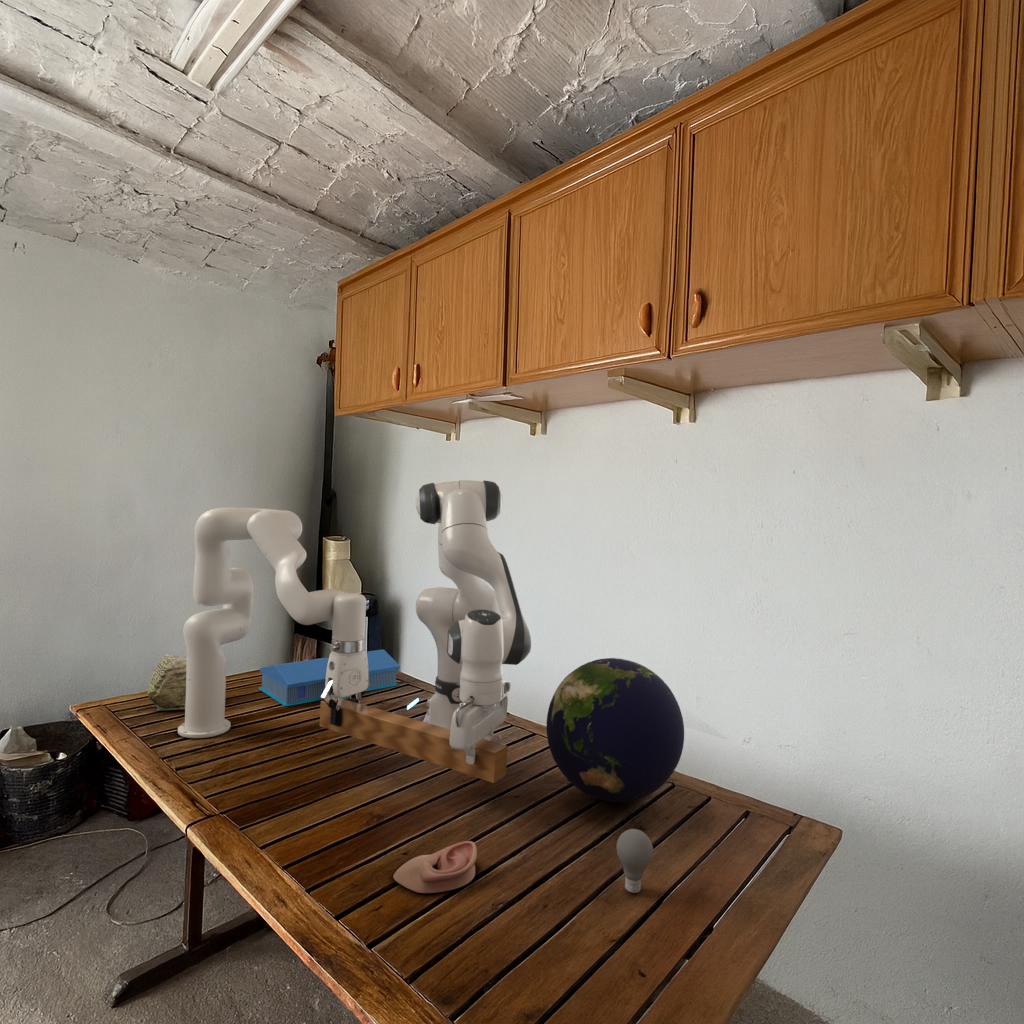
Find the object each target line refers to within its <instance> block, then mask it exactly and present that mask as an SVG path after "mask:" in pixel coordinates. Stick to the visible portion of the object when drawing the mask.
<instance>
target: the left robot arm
mask: <svg viewBox="0 0 1024 1024" xmlns="http://www.w3.org/2000/svg"><path fill="white" fill-rule="evenodd" d="M193 531H194V532H193V537H194V545H195V547H194V548H195V559H194V560H195V561H194V571H193V584H192V585H193V586H192V596H193V600H194V602H195V603H196V604H197V605H199V606H202V607H216V606H222V608H214V609H209V610H204V611H199V612H197V613H195V614H192V615H191V616H190V617H188V619H186V621H185V623H184V625H183V630H182V631H183V632H182V634H183V640H184V646H185V657H187V666H186V701H185V709H184V722H182V724H180V725H179V726H178V727H177V734H178V735H179V736H180V737H182V738H188V739H207V738H212V737H216V736H220V735H222V734H224V733H227V732H228V731H230V729H231V727H232V725H231V723H232V722H231V721H230V720H228V719H226V718H225V715H226V692H227V691H226V689H227V659H226V656H225V654H224V652H223V651H222V649H221V646H222V645H224V644H229V643H232V642H233V643H234V642H237V641H240V640H242V639H243V638H245V637H246V636H247V635H248V633H249V631H250V628H251V624H252V614H253V602H254V581H253V579H252V576H251V575H250V573H249V572H248V571H247V570H245V569H243V568H241V567H231V563H232V553H231V550H230V546H229V545H228V543H227V542H228V541H242V540H245V541H246V540H253V542H254V543H255V545H256V546H257V547H258V548H259V550H260V551H261V553H262V554H263V556H264V557H265V559H267V561H268V563H269V564H270V565H271V567H272V568H273V569H274V571H275V575H274V576H275V577H274V584H275V592H276V596H277V598H278V600H279V602H280V603H281V604H282V606H283V608H284V609H285V610H286V612H287V613H288V614H289V615H290V617H291V618H292V619H293V620H295V622H296V623H298V624H300V625H304V626H311V625H315V624H319V623H322V622H328V621H332V629H331V630H332V633H331V644H330V645H329V650H330V651H331V652H330V653H329V660H328V665H327V671H326V681H325V690H324V692H323V694H322V695H321V700H320V701H324V702H326V704H327V705H328V706H329V708H331V714H330V724H332V725H335V726H338V727H339V726H341V725H342V709H340V707H341V703H342V699H343V698H344V697H348V696H350V698H349V701H352V702H356V703H359V704H361V702H362V701H363V699H362V698H363V696H364V695H365V693H366V692H367V691H366V690H367V688H368V687H369V683H368V658H367V652H368V651H367V649H365V636H366V615H367V613H366V612H367V598H366V596H365V595H363V594H361V593H355V592H345V591H343V590H339V589H337V588H325V589H321V590H320V589H319V590H313V591H308V589H306V587H305V586H304V584H303V583H302V582H301V580H300V578H299V577H298V573H297V570H298V569H299V568H300V567H301V566H302V565H303V564H304V562H306V559H307V551H306V549H305V548H304V547H303V545H302V544H301V543H300V541H298V539H299V538H300V537H301V535H302V533H303V523H302V520H301V518H300V517H299V516H298V514H296V513H295V512H293V511H291V510H285V509H284V510H283V509H273V508H271V509H270V508H261V507H216V508H212V509H209V510H207V511H205V512H203V513H202V514H201V515H199V517H198V519H197V521H196V522H195V525H194V530H193ZM226 541H227V542H226ZM330 695H331V697H330ZM335 698H337V701H336V702H335Z"/></svg>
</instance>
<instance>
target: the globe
mask: <svg viewBox="0 0 1024 1024" xmlns="http://www.w3.org/2000/svg"><path fill="white" fill-rule="evenodd" d="M545 726H546V736H547V737H546V738H547V743H548V747H549V750H550V754H551V756H552V758H553V761H554V763H555V765H556V766H557V768H558V769H559V771H560V772H561V773H562V775H563V776H564V777H565V778H566V780H568V781H569V783H570V784H572V785H573V786H574V787H575V788H576V789H578V790H580V791H581V792H583V793H584V794H586V795H588V796H590V797H592V798H595V799H598V800H601V801H605V802H611V803H628V802H634V801H637V800H641V799H642V798H645V797H647V796H649V795H651V794H653V793H654V792H656V791H657V790H659V789H660V788H661V787H662V786H663V785H665V784H666V782H667V781H668V780H669V779H670V778H671V777H672V776H673V774H674V772H675V770H676V768H677V767H678V764H679V763H680V760H681V757H682V754H683V751H684V743H685V724H684V718H683V713H682V711H681V708H680V705H679V702H678V700H677V698H676V696H675V694H674V693H673V691H672V689H671V688H670V687H669V686H668V684H667V683H666V682H665V681H664V679H662V678H661V677H660V676H659V675H658V674H656V672H654V671H653V670H652V669H649V667H646V666H644V665H643V664H640V663H638V662H635V661H632V660H630V659H625V658H621V657H606V658H605V657H604V658H599V659H594V660H592V661H588V662H586V663H584V664H581V665H580V666H578V667H577V668H575V669H574V670H573V671H571V672H570V673H568V675H566V676H565V677H564V678H563V680H562V681H561V682H560V683H559V685H558V686H557V687H556V690H555V691H554V694H553V695H552V698H551V700H550V703H549V705H548V710H547V715H546V725H545Z"/></svg>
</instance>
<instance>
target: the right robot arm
mask: <svg viewBox="0 0 1024 1024" xmlns="http://www.w3.org/2000/svg"><path fill="white" fill-rule="evenodd" d="M503 499H504V498H503V495H502V492H501V490H500V486H499V485H498V484H497V483H496V482H494V481H490V480H484V479H483V480H482V481H480V480H470V479H469V480H466V479H464V480H462V479H461V480H460V479H459V480H457V481H456V480H455V481H444V482H438V483H434V482H430V483H426V484H423V485H421V486H420V488H419V489H418V492H417V495H416V499H415V508H416V512H417V514H418V516H419V519H420V520H421V521H422V522H424V523H425V524H430V525H436V524H438V529H437V550H438V551H437V553H438V554H437V555H438V568H439V570H440V572H441V574H443V576H445V577H446V578H448V579H450V580H451V581H452V582H453V583H454V585H455V586H456V588H453V587H445V586H444V587H441V586H439V587H437V586H436V587H430V588H425V589H423V590H422V591H421V592H420V593H419V595H418V596H417V599H416V602H415V613H416V616H417V618H418V619H419V621H420V622H421V623H422V624H423V625H424V626H425V627H426V628H427V629H428V631H429V632H430V633H431V636H432V638H433V640H434V644H435V646H436V652H437V675H436V676H435V681H434V689H435V692H434V694H432V695H431V698H427V701H426V707H427V708H428V710H427V711H426V713H425V716H424V718H423V720H422V722H426V723H429V724H433V725H436V726H440V727H443V728H447V729H450V747H451V748H452V749H454V750H458V751H463V752H465V753H466V763H468V764H474V763H475V762H476V761H477V754H476V753H475V749H474V748H475V747H476V743H478V742H479V741H480V740H481V739H485V740H489V741H493V737H494V731H495V730H496V729H497V728H498V727H499V726H501V725H502V724H503V723H504V722H505V721H506V718H507V716H508V706H509V692H510V691H511V684H512V683H511V681H510V680H507V679H504V673H503V669H502V668H503V667H502V665H511V666H513V665H514V666H517V665H519V664H521V663H522V662H523V661H524V660H525V659H526V658H527V657H528V656H529V654H530V653H531V650H532V638H531V633H530V629H529V627H528V624H527V622H526V619H525V617H524V615H523V613H522V612H523V611H522V608H521V604H520V602H519V597H518V595H517V591H516V588H515V584H514V580H513V577H512V574H511V571H510V568H509V565H508V562H507V560H506V558H505V556H504V554H502V553H501V552H499V551H498V550H497V549H496V548H495V546H494V545H493V543H492V542H491V539H490V537H489V531H488V530H489V529H488V523H487V522H490V521H493V520H495V519H497V518H498V517H499V516H500V514H501V510H502V508H503V502H504V500H503ZM419 699H420V698H419V697H417V698H416V699H414V700H413V701H412V702H410V703H409V704H407V706H406V710H409V709H411V708H412V707H413V706H415V705H417V703H419Z"/></svg>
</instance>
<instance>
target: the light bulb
mask: <svg viewBox="0 0 1024 1024" xmlns="http://www.w3.org/2000/svg"><path fill="white" fill-rule="evenodd" d="M615 849H616V854H617V857H618V859H619V861H620V863H621V865H622V867H623V873H624V874H623V875H624V876H625V878H624V888H625V890H627V891H628V892H630V893H634V894H635V893H639V892H640V891H641V889H642V887H641V886H642V879H643V877H644V875H645V871H646V868H647V867H648V866H649V864H650V863H651V861H652V859H653V855H654V847H653V843H652V841H651V838H649V836H648V835H647V834H646V833H645V832H643V831H642V830H641V829H636V828H629V829H627V830H625V831H623V832H622V833H621V834H620V835H619V837H618V839H617V841H616V847H615Z"/></svg>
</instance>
